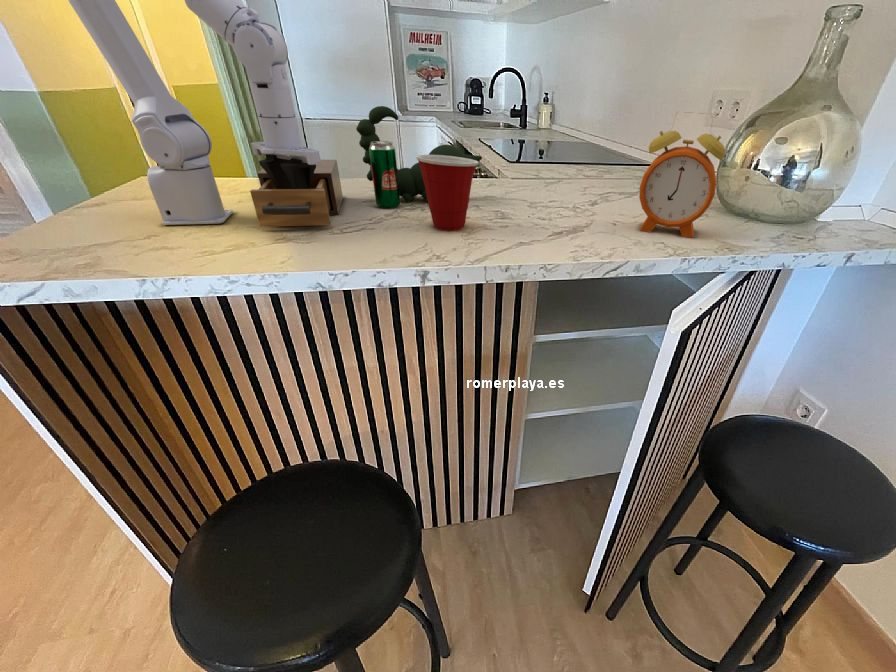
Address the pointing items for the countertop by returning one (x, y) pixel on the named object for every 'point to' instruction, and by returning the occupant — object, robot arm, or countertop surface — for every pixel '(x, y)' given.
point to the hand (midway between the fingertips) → (296, 203)
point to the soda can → (384, 174)
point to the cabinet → (322, 171)
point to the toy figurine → (407, 177)
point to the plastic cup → (447, 188)
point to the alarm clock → (679, 182)
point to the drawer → (292, 204)
